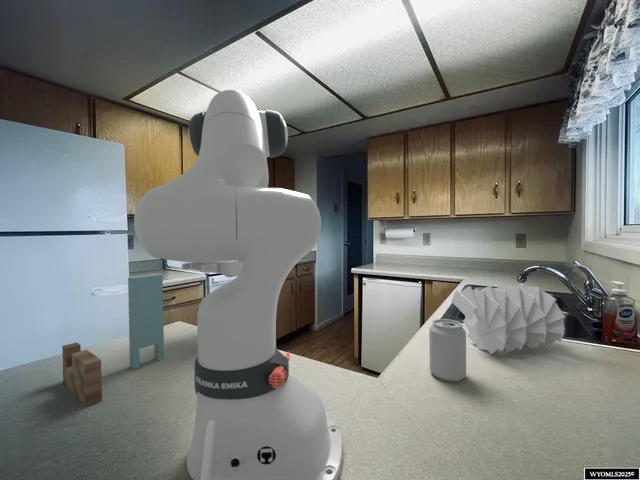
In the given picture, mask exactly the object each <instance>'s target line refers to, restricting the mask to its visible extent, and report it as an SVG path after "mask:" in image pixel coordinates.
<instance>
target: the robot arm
mask: <svg viewBox="0 0 640 480" xmlns="http://www.w3.org/2000/svg"><path fill="white" fill-rule="evenodd" d="M187 133H188V135H187V136H188V140H189V143H190V146H191V147H192V149H193V152H194V154H195V155H196V156H198V157H197V159H196V161H195V162H194V163H193V164H192V165H191V166H190V167H189V168H188V169H187V170H186V171H185V172H184V173H182V174H180V175H179V176H178V177H176V178H175V179H174V180H171V181H169V182H167V183H165V184H163V185H160V186H157V187H154V188H152V189H150V190H148V191H147V192H146V193H145V194H144V195H143V196H142V198H141V199H140V201H139V202H138V204H137V206H136V209H135V213H134V216H133V217H134V218H133V227H134V232H135V236H136V238H137V240H138V242H139V243H140V245H141V247H142V248H143V249H144V250H145V251H146V253H148V255H150V256H151V257H153V258H156V259H162V260H167V261H168V260H169V261H176V262H183V263H181V269H182V270H186V271H187V270H192V271H197V272H198V271H199V272H200V273H214V274H221V275H224V276H225V277H226V278H234V279H232V280H231V281H229V282H226V283H225V284H223V285H221V286H219V287H217V288H215V289H214V290H213V291H211V292H210V293H208V294H207V295H206V296H205V297H204V298H203V299H202V301H201V302H200V303H199V305H198V309H197V312H196V326H197V327H196V331H197V356H196V358H195V360H194V374H193V375H194V391H195V394H196V408H195V419H194V427H193V433H192V438H191V443H190V445H189V446H190V448H189V449H188V453H187V457H186V468H187V472H188V474H189V476H190V478H191V479H192V480H338V478H339V477H340V474H341V470H342V464H343V457H344V445H343V438H342V437H343V436H342V432H341V429H340V427H339V425H338V424H337V422H336V421H335V420H334V419H333V418H330V417H327V414H326V410H325V406H324V404H323V401H322V398H321V396H319V394H318V393H316V392H315V391H313V390H312V389H311V388H310V387H308V386H306V385H305V384H304V383H303V382H301V381H299V380H298V379H296V378H295V377H294V376H293V375H291V374H290V364H289V363H290V351H287V352H286V354H285V355H284V354H282V353H281V352H280V351H279V350H278V348H277V347H276V323H277V322H276V321H277V310H278V309H277V308H278V301H279V298H280V294H281V290H282V288H283V285H284V283H285V281H286V279H287V278H288V275H289V274H290V273H291V271H292V269H294V267H295V266H296V264H298V263H299V261H300V260H302V259H303V258H304V257H305V256H307V255H308V254H309V253H310V252H311V251H312V250H313V249H314V248H315V246H316V245H317V242H318V240H319V238H320V237H321V231H322V217H321V213H320V212H321V211H320V210H319V207H318V206H317V204H316V202H315V201H314V200H313V198H312V197H311V196H310V195H309V194H306V193H304V192H299V191H295V190H290V189H285V188H282V187H269V182H270V181H269V179H270V177H269V176H270V175H269V167H268V161H267V160H268V159H267V158H270V159H273V158H276V157H279V156H281V155H283V153H284V152H285V151H286V148H287V145H288V143H289V142H288V140H289V130H288V126H287V124H286V122H285V120H284V117H283V115H282V114H281V113H280V112H278V111H275V110H271V109H265V110H258V108H257V107H256V105H255V103H254V102H253V100H251V98H250V97H249V96H248V95H247V94H245V93H243V92H241V91H238V90H235V89H225V90H222V91H220V92H217V93H216V94H215V95H214V96H213V97H212V98H211V100H210V102H209V104H208V105H207V109H206V110H205V111H200V112H198V113H196V114H194V115H193V116H192V117H191V118H190V119H189V121H188V130H187Z"/></svg>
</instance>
